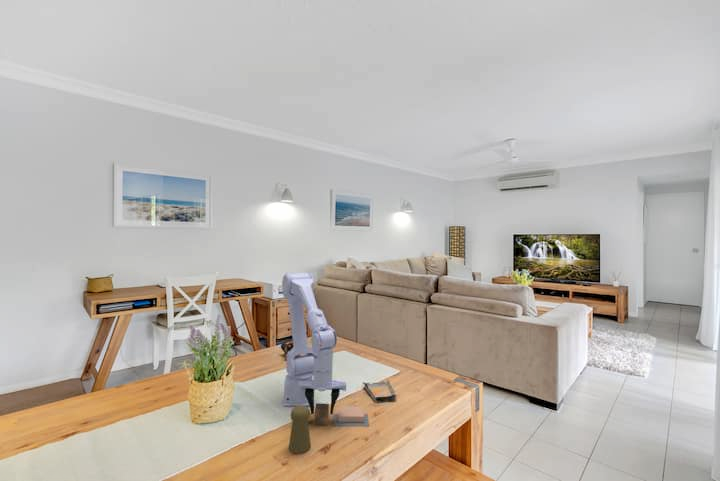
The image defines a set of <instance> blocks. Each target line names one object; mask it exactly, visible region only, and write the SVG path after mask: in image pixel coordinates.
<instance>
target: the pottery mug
mask: <svg viewBox="0 0 720 481" xmlns="http://www.w3.org/2000/svg"><path fill="white" fill-rule="evenodd" d="M292 348H293V341H290V342H287V343H286V342H282V343H281V345H280V349H281V350H282V351H283V353H284V355H285V356H284V360H285V361H286V362H287V358H286V357H287V354H288V353H289V352H290V350H291V349H292ZM299 356H301V355H297V356H295V357H299Z"/></svg>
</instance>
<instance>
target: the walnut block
mask: <svg viewBox="0 0 720 481" xmlns="http://www.w3.org/2000/svg"><path fill="white" fill-rule="evenodd" d="M329 406H330V403H321V402H319V403H315V405H314V425H313V426H315V427H316V426H317V427H319V426H320V427H322V426H323V427H328V426H329V414H330V413H329V410H330V409H329V408H330V407H329Z"/></svg>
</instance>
